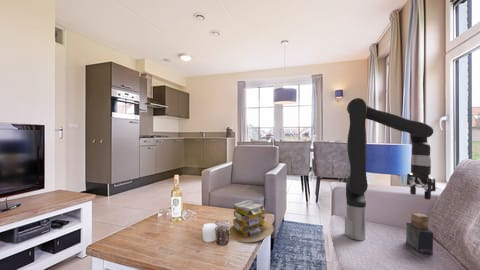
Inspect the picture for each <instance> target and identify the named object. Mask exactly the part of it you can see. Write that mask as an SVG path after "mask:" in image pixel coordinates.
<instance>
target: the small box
mask: <svg viewBox="0 0 480 270" xmlns="http://www.w3.org/2000/svg"><path fill="white" fill-rule="evenodd" d="M405 235H406V236H405V237H406V238H405V239H406V240H405V242H406V244H407V245H409V246H410V247H411V249H414V250H415V251H416V252H418V253H421V254H427V255H433V253H434V251H433V249H434V232H433V231H432V230H430V229H429V228H428V229H418V228H416V227H414V226H412V225H411V222H406V233H405Z"/></svg>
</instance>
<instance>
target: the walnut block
mask: <svg viewBox="0 0 480 270" xmlns="http://www.w3.org/2000/svg"><path fill="white" fill-rule="evenodd" d="M410 215H411V218H410V219H411V220H410V221H411V222H410V223H411V225H412V226H414V227H416V228H418V229H428V230H429V216H428V215H425V214H423V213H417V212H416V213H415V212H411V214H410Z"/></svg>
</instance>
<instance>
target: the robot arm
mask: <svg viewBox="0 0 480 270" xmlns="http://www.w3.org/2000/svg"><path fill="white" fill-rule="evenodd" d="M346 112H347V113H348V115H349V127H348V128H349V129H348V134H347V141H346V142H347V146H346V147H347V158H348V161H349V168H350V170H349V172H350V173H349V176H348V177H347V179H346V182H345V199H346V215H345V217H344V235H345V236H346V237H347V238H348V239H350V240H351V239H352V240H356V241H365V240H366V225H367V224H366V223H367V222H366V221H367V220H366V219H367V218H366V216H367V215H366V214H367V213H366V212H367V207H366V206H367V202H366V198H365V193H366V191H367V190H368V179H367V154H368V153H367V147H368V146H367V145H368V144H367V143H368V142H367V130H366V129H367V128H366V120H369V121H372V122H375V123H378V124H380V125H383V126H386V127H388V128H391V129H394V130H396V131H400V132H403V133H407V134H410V136H409V137H410V141H411V142H410V143H411V146H412V147H411V158H410V173H407V174H406V175H407V176H406V185H407V186H409V187H410V188H409V192H410V195H415V196H416V195H417V188H416V187H417V186H418V185H420V186H421V187H422V189H423V191H424V197H423V198H424V200H427V201H428V200H429V201H430V200H431V198H432V197H431V196H432V192H436V188H437V187H436V179H435V178H432V177H430V175H431V171H432V159H431V145H430V144H429V142H428V138H430V137H431V136H432V135H433V134H434V129H433V127H432V126H431V125H430V124H427V123H424V122H421V121H418V120H412V119H409V118H407V117H404V116H402V115H398V114H396V113H391V112H387V111H382V110H378V109H375V108H373V107H371V106H368V104H367V102H366V101H365V100H364V99H363V98H360V97H356V98H353V99H351V100H350V101H349V102H348V104H347V106H346Z"/></svg>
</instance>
